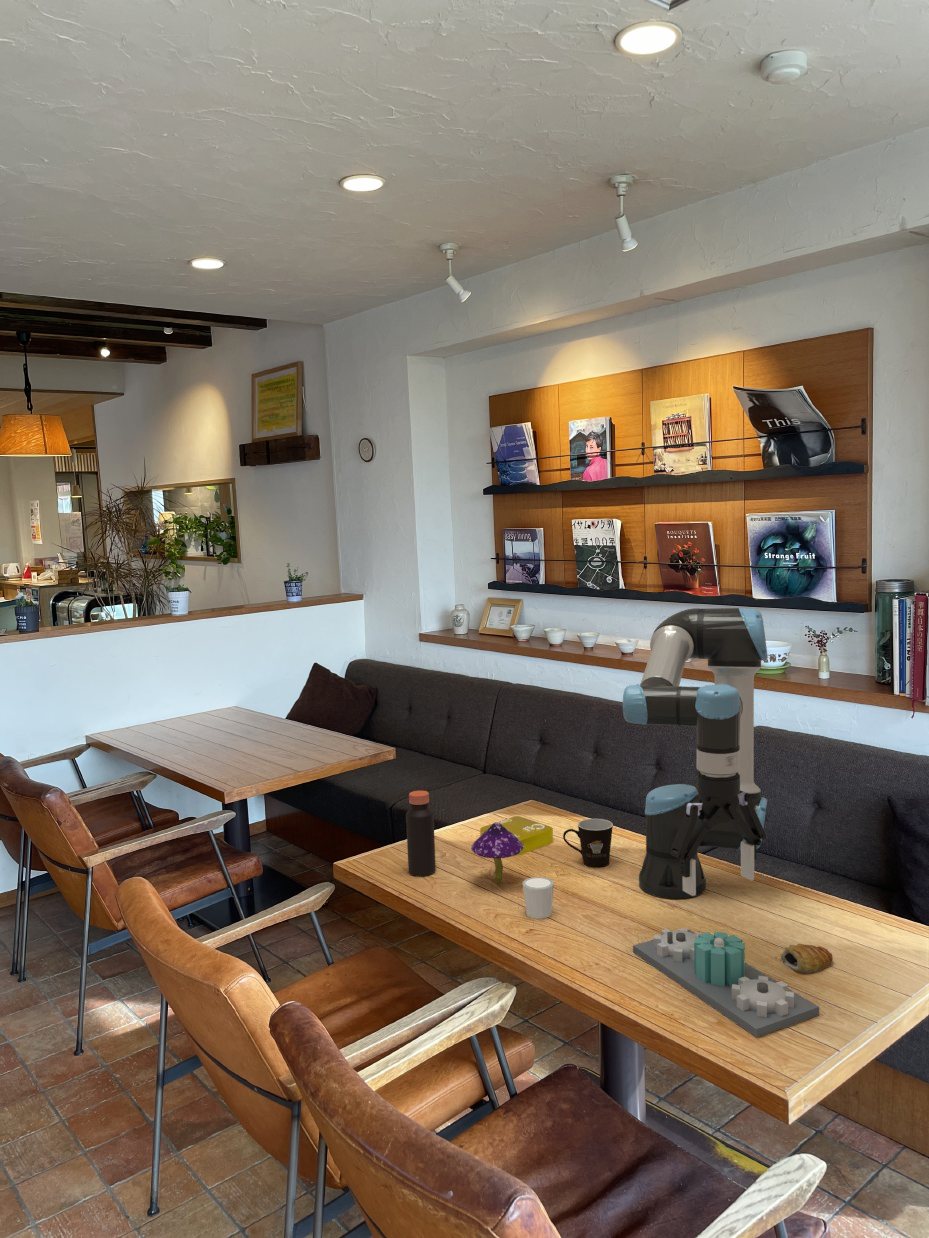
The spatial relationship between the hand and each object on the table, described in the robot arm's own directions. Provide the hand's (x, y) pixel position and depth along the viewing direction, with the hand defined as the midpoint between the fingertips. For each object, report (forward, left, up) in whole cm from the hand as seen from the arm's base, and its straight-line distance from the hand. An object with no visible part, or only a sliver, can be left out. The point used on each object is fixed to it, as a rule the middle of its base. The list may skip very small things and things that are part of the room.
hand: (718, 885), depth 166 cm
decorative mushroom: (+14, -61, -19) cm, 65 cm away
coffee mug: (-12, -61, -19) cm, 65 cm away
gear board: (0, 0, -19) cm, 19 cm away
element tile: (-3, -83, -19) cm, 85 cm away
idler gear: (0, 0, -17) cm, 17 cm away
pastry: (-19, +3, -19) cm, 27 cm away
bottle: (+27, -77, -19) cm, 84 cm away
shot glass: (+14, -42, -19) cm, 48 cm away
